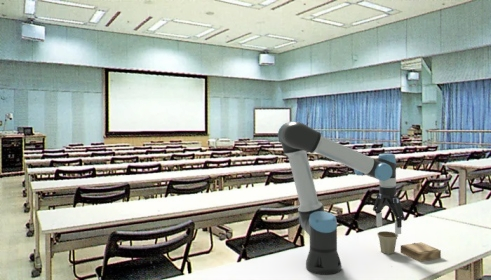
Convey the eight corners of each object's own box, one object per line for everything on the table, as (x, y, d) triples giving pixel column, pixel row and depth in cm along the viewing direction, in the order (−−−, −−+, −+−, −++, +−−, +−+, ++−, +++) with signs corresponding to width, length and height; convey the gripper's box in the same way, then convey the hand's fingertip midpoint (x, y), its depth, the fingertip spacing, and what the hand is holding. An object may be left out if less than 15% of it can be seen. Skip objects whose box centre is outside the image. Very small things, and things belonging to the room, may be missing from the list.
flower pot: (400, 255, 177) (400, 237, 176) (378, 254, 179) (378, 236, 178) (396, 249, 186) (396, 231, 186) (376, 248, 188) (376, 231, 187)
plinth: (419, 261, 170) (419, 253, 169) (400, 252, 181) (400, 244, 181) (440, 257, 173) (440, 249, 173) (421, 249, 185) (421, 241, 184)
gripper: (413, 189, 170) (413, 236, 171) (377, 181, 194) (378, 222, 195) (399, 191, 167) (399, 238, 169) (365, 182, 191) (366, 224, 193)
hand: (388, 230), depth 182 cm, fingers open, 13 cm apart
